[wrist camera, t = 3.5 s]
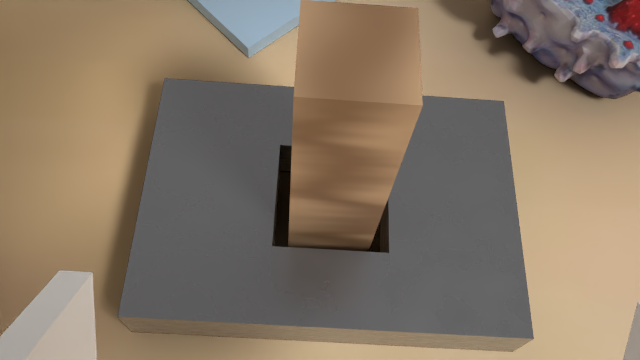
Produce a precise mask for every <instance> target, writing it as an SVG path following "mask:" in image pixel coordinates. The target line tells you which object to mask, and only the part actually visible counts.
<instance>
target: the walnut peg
mask: <svg viewBox="0 0 640 360" xmlns="http://www.w3.org/2000/svg"><path fill="white" fill-rule="evenodd" d="M422 106H423V100H422V80H421V60H420V40H419V20H418V8H408V7H394V6H381V5H367V4H353V3H340V2H326V1H312V0H301V1H300V15H299V29H298V43H297V57H296V71H295V85H294V101H293V128H292V155H291V183H290V210H289V237H288V247H295V248H312V249H329V250H347V251H364V252H368V251H369V249H370V246H371V243H372V241H373V238H374V235H375V232H376V230H377V227H378V224H379V222H380V219H381V216H382V214H383V211H384V208H385V206H386V203H387V200H388V198H389V195H390V192H391V189H392V187H393V184H394V181H395V179H396V176H397V173H398V171H399V168H400V165H401V163H402V160H403V157H404V155H405V152H406V149H407V146H408V144H409V141H410V138H411V136H412V133H413V130H414V128H415V125H416V122H417V120H418V117H419V114H420V112H421V109H422Z"/></svg>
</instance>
